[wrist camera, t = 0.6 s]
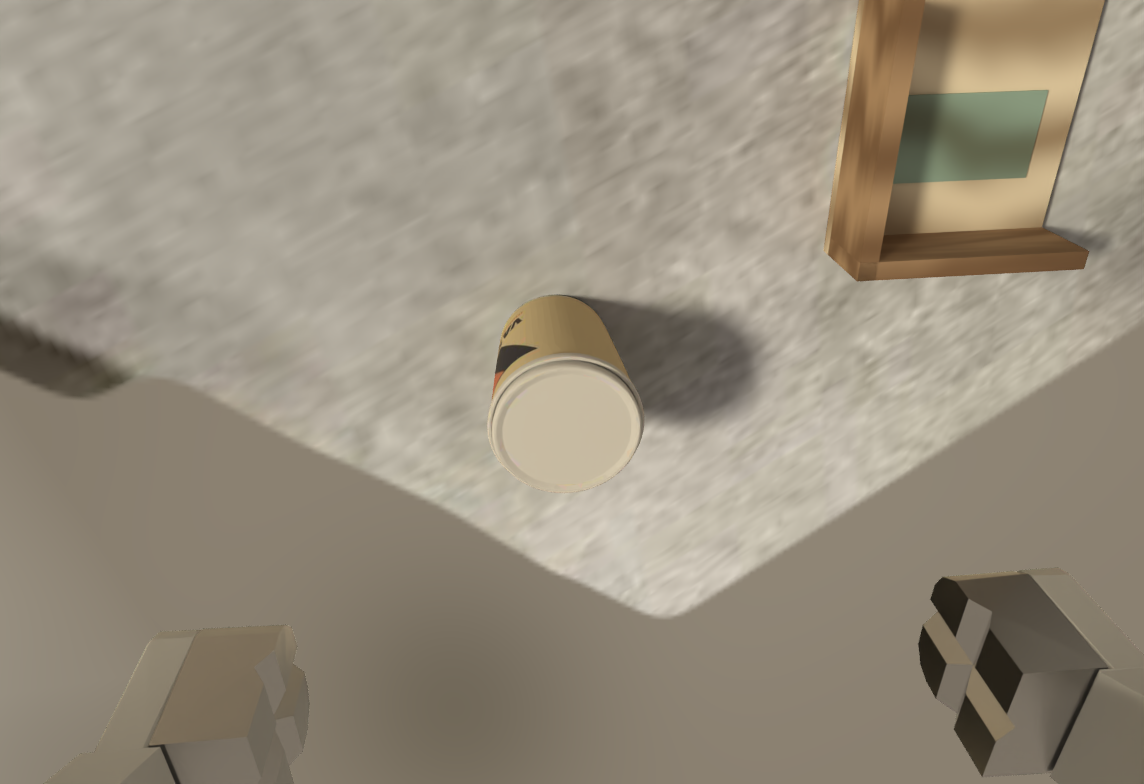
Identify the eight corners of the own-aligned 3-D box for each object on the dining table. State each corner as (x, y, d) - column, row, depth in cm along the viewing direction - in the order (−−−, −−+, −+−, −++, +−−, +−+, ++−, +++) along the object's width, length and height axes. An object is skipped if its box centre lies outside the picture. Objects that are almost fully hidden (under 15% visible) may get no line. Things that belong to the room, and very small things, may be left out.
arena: (859, -7, 47) (904, -2, 42) (1099, -14, 48) (1171, -10, 43) (823, 250, 55) (857, 281, 50) (1030, 240, 56) (1083, 269, 51)
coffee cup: (494, 276, 54) (493, 355, 43) (628, 289, 55) (660, 368, 44) (483, 395, 58) (481, 493, 48) (608, 404, 59) (632, 501, 49)
